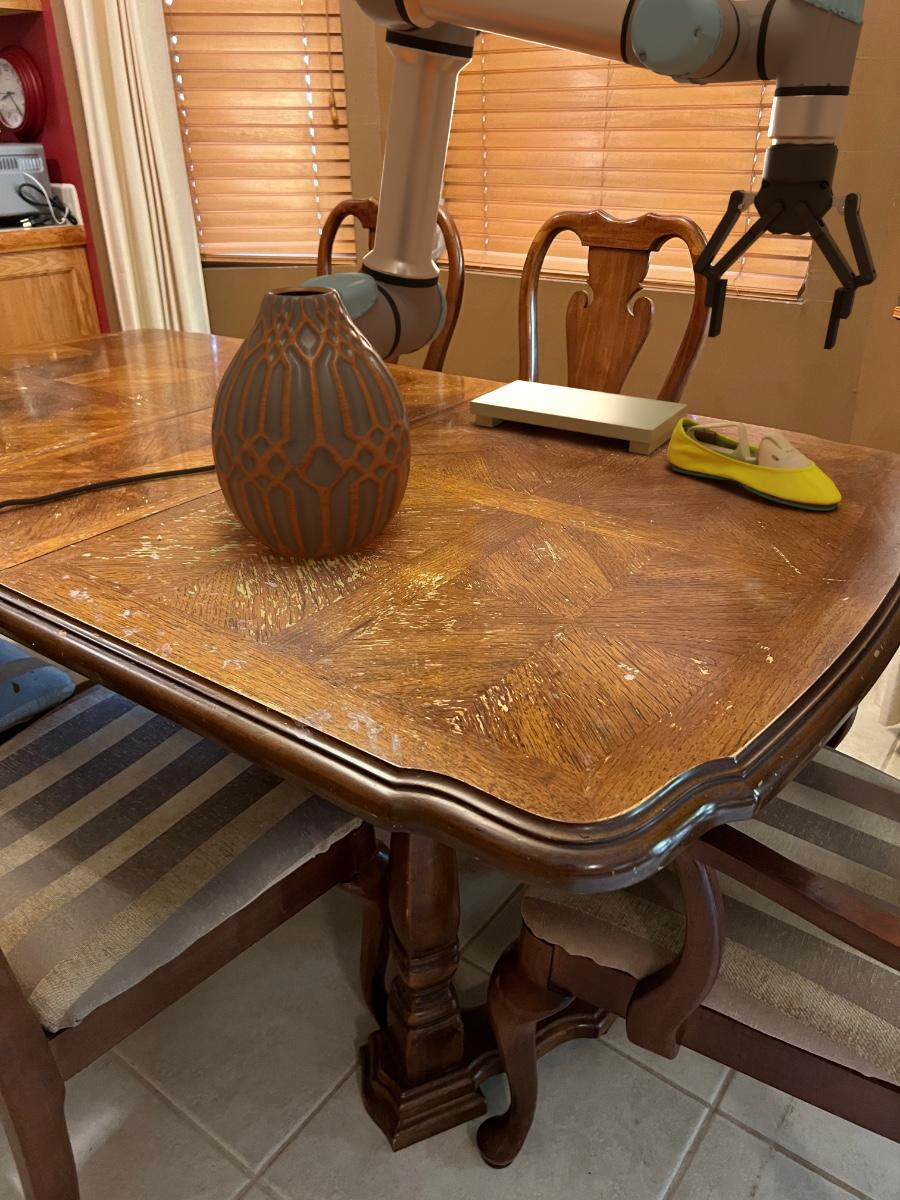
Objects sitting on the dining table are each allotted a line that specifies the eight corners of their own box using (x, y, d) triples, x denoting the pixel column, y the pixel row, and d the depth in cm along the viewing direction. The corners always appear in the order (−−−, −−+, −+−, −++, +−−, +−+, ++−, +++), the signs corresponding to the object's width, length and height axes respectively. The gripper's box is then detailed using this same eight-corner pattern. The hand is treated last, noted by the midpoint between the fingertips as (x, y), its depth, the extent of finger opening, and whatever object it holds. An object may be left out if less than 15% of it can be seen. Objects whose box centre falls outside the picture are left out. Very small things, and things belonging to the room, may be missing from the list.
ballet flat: (817, 521, 102) (832, 456, 98) (650, 471, 118) (656, 413, 114) (849, 504, 107) (864, 441, 103) (684, 458, 123) (691, 402, 119)
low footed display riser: (649, 457, 123) (652, 430, 122) (469, 426, 137) (469, 401, 136) (685, 429, 135) (688, 404, 134) (516, 403, 149) (517, 380, 148)
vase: (288, 494, 111) (266, 272, 98) (440, 517, 104) (439, 282, 91) (186, 560, 93) (144, 301, 80) (361, 593, 86) (346, 315, 74)
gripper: (933, 141, 91) (886, 346, 101) (701, 142, 103) (679, 326, 113) (925, 141, 85) (876, 358, 95) (680, 142, 97) (659, 336, 107)
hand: (769, 341), depth 104 cm, fingers open, 13 cm apart
